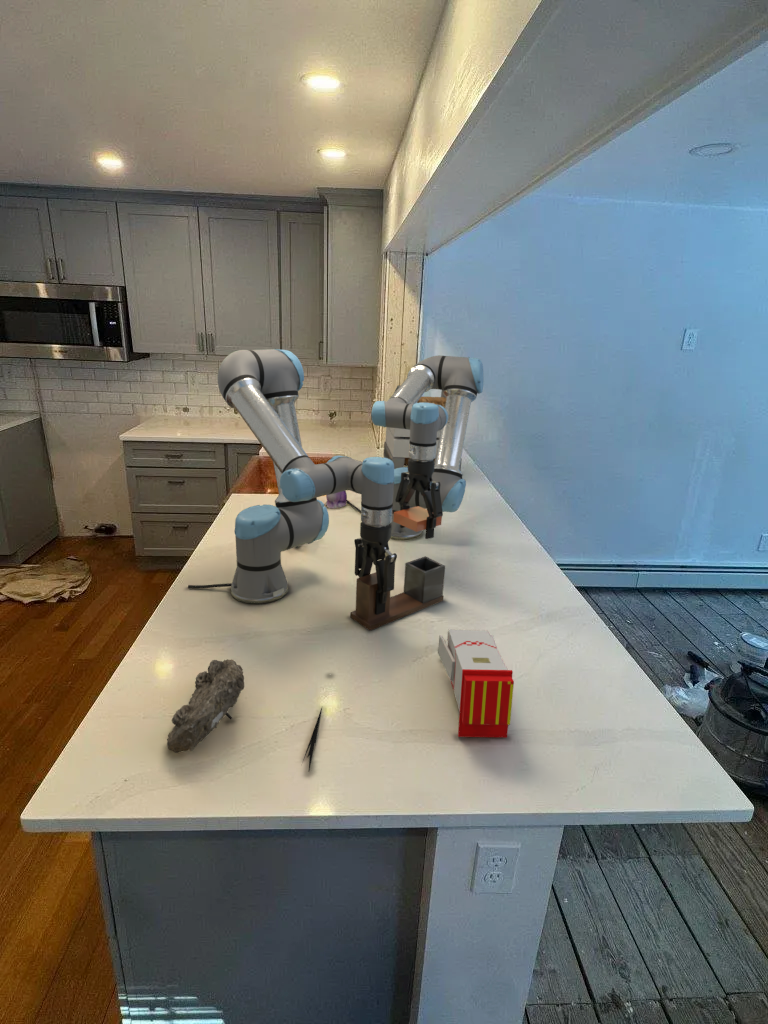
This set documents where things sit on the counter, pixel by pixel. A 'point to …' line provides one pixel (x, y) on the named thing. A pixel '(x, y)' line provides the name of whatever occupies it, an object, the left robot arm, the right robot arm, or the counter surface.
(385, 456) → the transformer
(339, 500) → the figurine
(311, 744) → the feather
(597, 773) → the counter surface
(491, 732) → the toy
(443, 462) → the right robot arm
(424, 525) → the glossy orange tile
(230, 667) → the fossil
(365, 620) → the brown wooden desk organizer
